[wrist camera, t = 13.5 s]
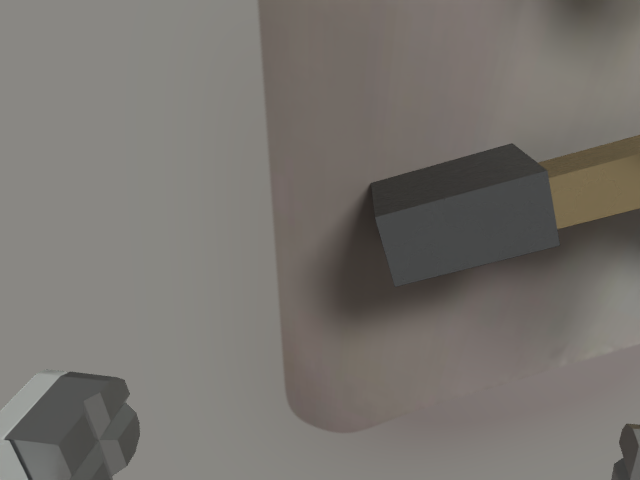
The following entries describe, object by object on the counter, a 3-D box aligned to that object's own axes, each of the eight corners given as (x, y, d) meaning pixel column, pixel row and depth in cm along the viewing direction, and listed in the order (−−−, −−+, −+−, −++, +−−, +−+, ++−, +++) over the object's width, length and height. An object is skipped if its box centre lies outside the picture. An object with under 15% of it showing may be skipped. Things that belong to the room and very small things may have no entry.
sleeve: (387, 242, 45) (394, 286, 38) (370, 183, 44) (374, 217, 36) (524, 206, 44) (560, 245, 36) (512, 143, 42) (547, 170, 34)
